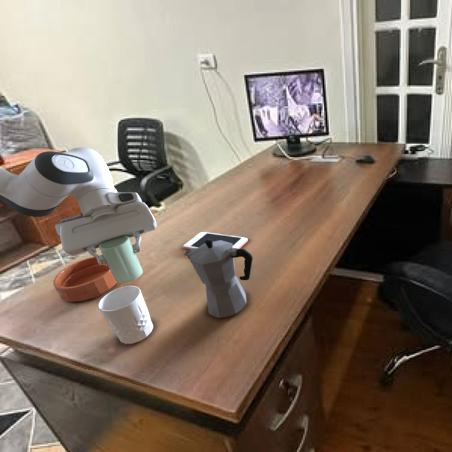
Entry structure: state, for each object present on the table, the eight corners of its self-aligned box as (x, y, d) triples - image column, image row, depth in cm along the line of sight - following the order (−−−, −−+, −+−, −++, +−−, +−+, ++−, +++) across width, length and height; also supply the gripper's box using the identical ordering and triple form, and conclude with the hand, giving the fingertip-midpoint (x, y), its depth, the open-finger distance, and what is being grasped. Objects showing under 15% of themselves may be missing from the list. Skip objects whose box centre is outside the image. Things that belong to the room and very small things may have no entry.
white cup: (115, 352, 73) (95, 316, 68) (118, 327, 79) (100, 293, 74) (156, 337, 75) (139, 302, 70) (156, 315, 81) (141, 281, 77)
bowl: (76, 311, 85) (66, 295, 83) (53, 292, 93) (44, 277, 90) (132, 279, 95) (125, 264, 93) (107, 264, 103) (100, 250, 100)
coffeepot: (192, 318, 80) (167, 252, 71) (210, 291, 88) (189, 229, 79) (257, 319, 77) (239, 252, 68) (269, 291, 85) (255, 228, 77)
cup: (123, 286, 84) (106, 251, 79) (110, 278, 88) (93, 244, 83) (148, 272, 89) (133, 238, 84) (135, 265, 92) (120, 232, 87)
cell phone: (202, 233, 114) (201, 231, 113) (248, 240, 108) (248, 237, 107) (183, 248, 107) (182, 245, 106) (231, 256, 101) (231, 253, 100)
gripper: (47, 216, 80) (66, 270, 77) (143, 190, 89) (163, 238, 86) (57, 226, 86) (75, 277, 83) (147, 201, 95) (165, 246, 92)
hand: (120, 257), depth 85 cm, fingers closed on cup, 6 cm apart
